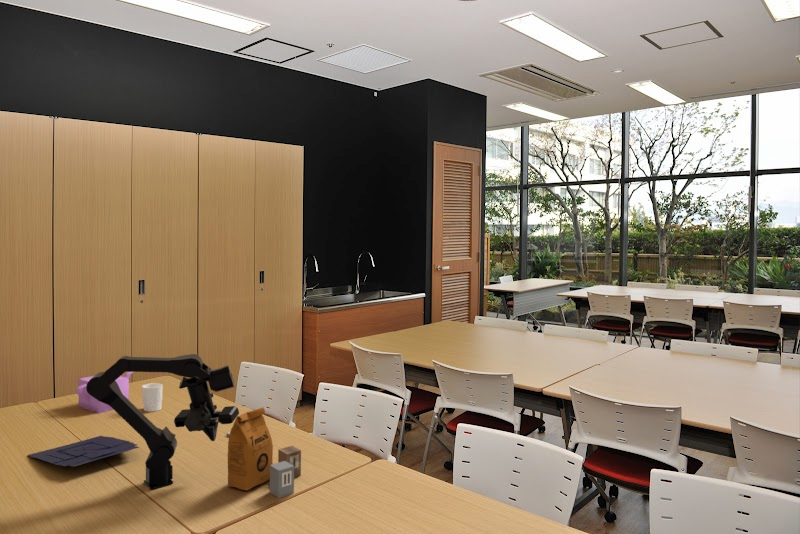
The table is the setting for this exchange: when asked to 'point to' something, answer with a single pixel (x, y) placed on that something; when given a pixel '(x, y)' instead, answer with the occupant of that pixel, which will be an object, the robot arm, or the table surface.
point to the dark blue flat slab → (85, 451)
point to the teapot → (94, 404)
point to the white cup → (152, 396)
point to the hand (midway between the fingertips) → (213, 440)
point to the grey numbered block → (281, 479)
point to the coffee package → (249, 451)
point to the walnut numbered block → (291, 458)
